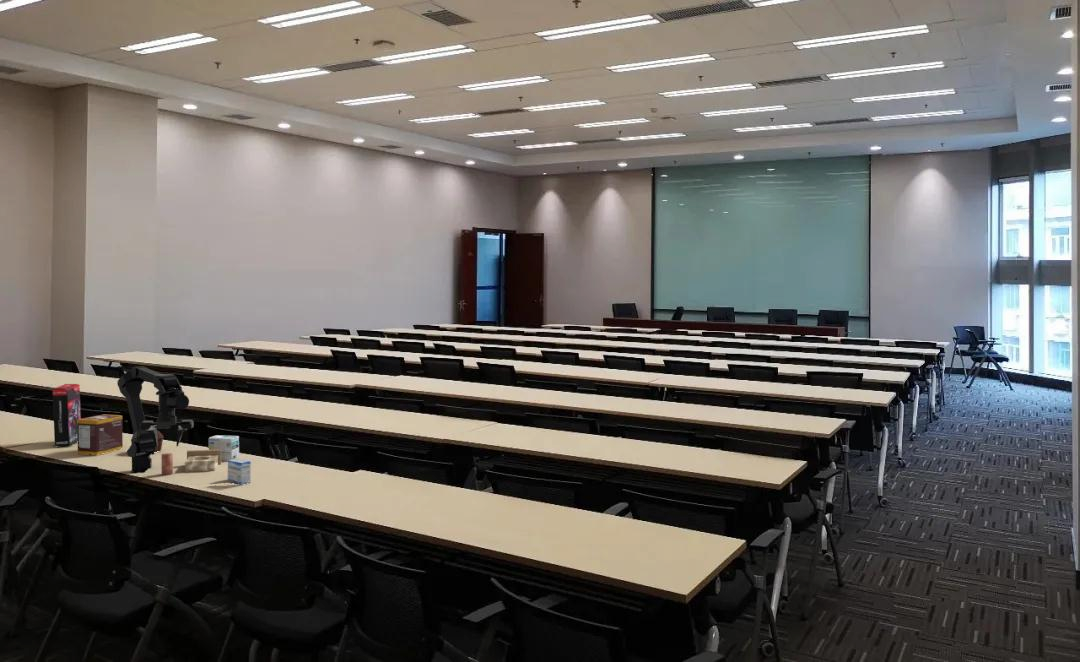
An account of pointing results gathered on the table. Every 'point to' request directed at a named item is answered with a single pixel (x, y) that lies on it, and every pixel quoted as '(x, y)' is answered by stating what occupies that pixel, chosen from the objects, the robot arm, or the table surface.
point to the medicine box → (239, 471)
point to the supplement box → (99, 434)
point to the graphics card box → (66, 414)
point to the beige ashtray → (201, 463)
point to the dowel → (167, 463)
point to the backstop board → (205, 453)
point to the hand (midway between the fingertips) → (167, 446)
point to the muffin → (159, 441)
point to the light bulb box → (225, 446)
